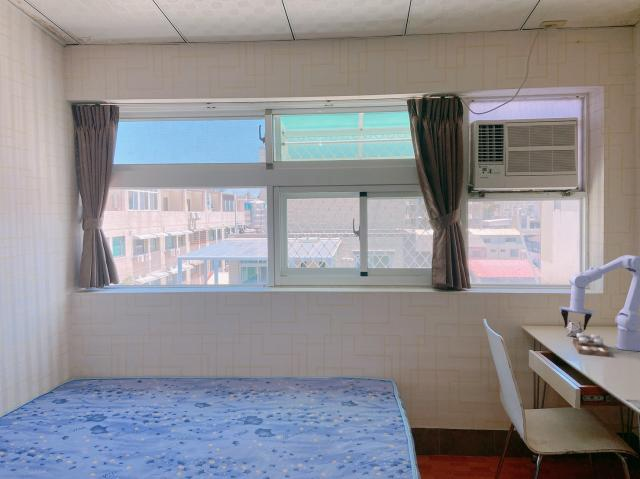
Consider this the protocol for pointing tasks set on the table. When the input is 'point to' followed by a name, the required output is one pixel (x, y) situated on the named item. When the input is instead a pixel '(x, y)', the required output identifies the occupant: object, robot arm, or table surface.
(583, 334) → the back left button
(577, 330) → the game die
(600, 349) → the button board
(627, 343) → the robot arm
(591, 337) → the button
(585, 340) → the button
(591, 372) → the table surface
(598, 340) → the button
